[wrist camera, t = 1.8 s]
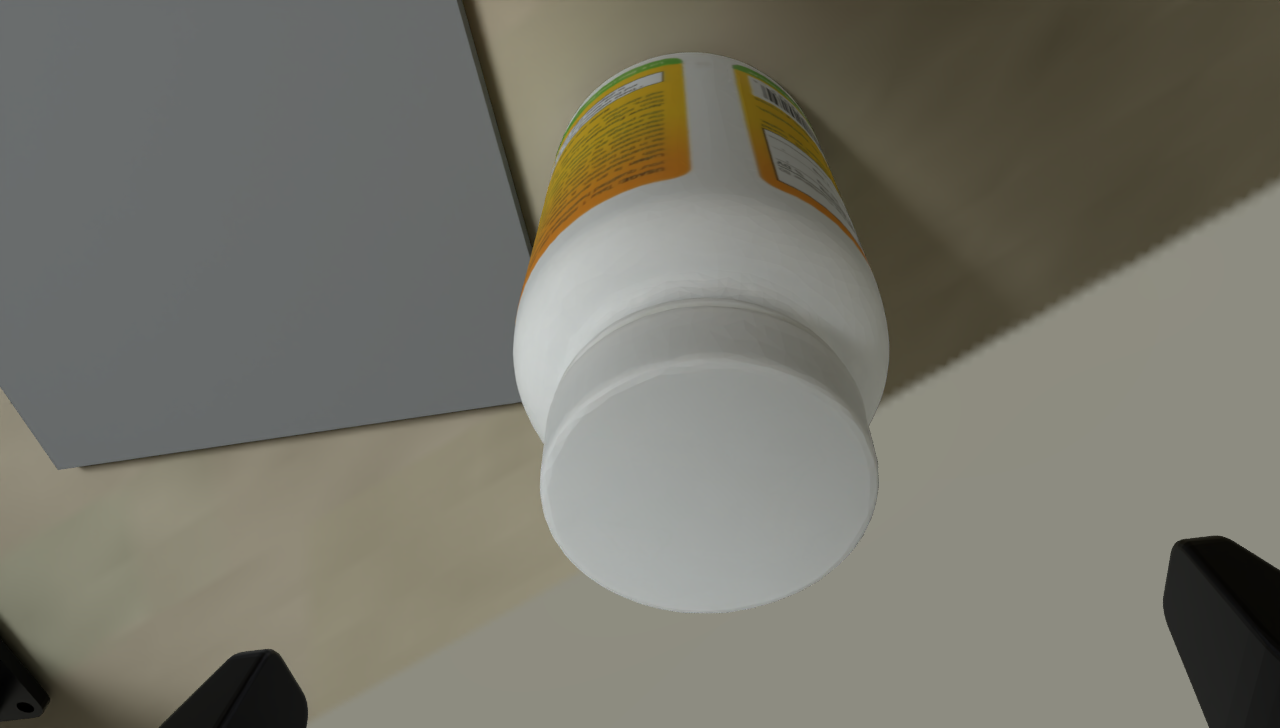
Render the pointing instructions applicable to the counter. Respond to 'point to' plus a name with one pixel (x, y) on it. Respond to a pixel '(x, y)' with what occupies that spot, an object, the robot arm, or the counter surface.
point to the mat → (248, 221)
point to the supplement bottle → (700, 343)
